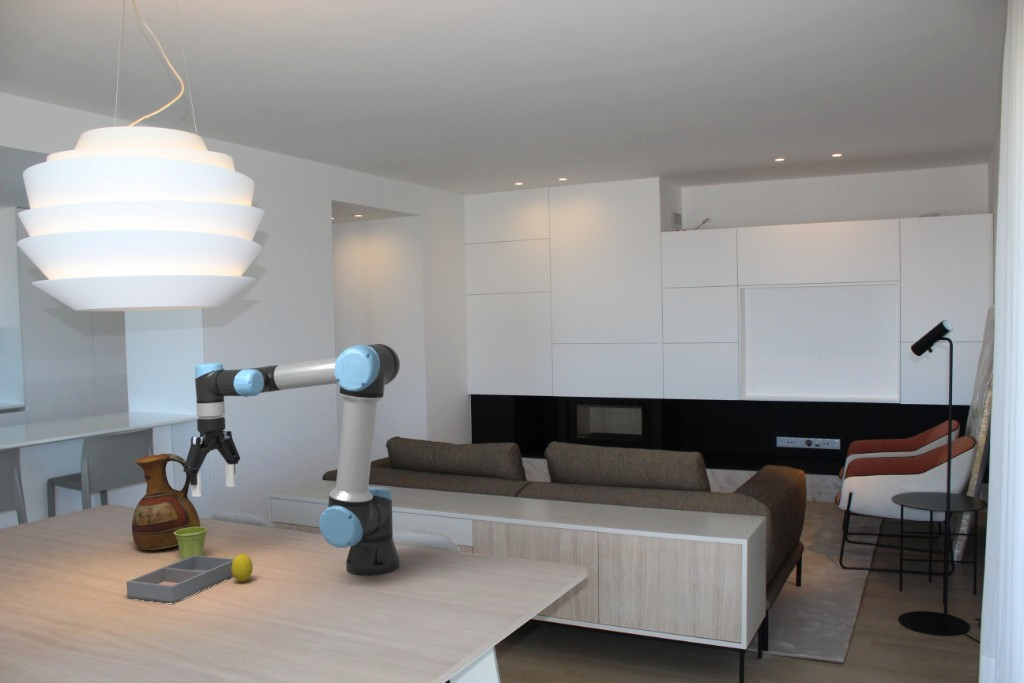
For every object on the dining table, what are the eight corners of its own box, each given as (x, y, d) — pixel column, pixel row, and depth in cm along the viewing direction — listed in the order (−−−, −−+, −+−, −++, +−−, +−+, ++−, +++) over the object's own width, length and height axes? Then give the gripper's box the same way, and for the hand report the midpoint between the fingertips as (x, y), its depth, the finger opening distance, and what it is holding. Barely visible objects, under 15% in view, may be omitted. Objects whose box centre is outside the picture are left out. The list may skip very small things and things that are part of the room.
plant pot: (186, 565, 241) (185, 536, 240) (168, 560, 246) (167, 531, 246) (214, 557, 248) (213, 529, 248) (197, 552, 254) (196, 525, 253)
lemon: (227, 584, 222) (226, 554, 222) (242, 578, 227) (241, 549, 227) (242, 586, 220) (241, 557, 220) (257, 580, 225) (256, 551, 224)
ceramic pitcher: (132, 543, 267) (129, 452, 266) (198, 535, 275) (195, 446, 274) (132, 558, 249) (129, 461, 248) (203, 549, 257) (199, 455, 256)
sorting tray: (237, 575, 230) (237, 559, 230) (172, 604, 207) (172, 587, 207) (195, 570, 235) (194, 555, 235) (127, 598, 212) (126, 581, 212)
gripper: (230, 411, 245) (233, 482, 246) (167, 422, 222) (170, 500, 223) (250, 412, 243) (253, 483, 243) (189, 422, 219) (192, 501, 220)
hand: (214, 491), depth 233 cm, fingers open, 13 cm apart
